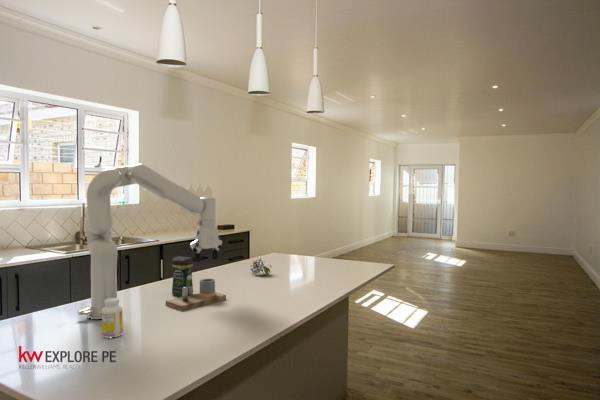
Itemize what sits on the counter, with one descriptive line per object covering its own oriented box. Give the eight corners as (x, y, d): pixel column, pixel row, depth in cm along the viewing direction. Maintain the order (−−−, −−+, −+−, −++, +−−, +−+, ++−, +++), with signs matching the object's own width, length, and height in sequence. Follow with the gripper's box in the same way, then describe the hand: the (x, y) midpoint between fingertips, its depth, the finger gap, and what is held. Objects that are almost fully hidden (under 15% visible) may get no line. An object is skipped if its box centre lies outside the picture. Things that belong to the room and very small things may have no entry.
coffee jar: (169, 295, 197) (168, 257, 197) (180, 291, 205) (180, 254, 204) (185, 297, 193) (184, 258, 193) (195, 293, 201) (195, 256, 200)
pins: (184, 301, 180) (184, 287, 180) (181, 300, 181) (181, 286, 181) (211, 295, 191) (211, 281, 190) (208, 294, 192) (208, 281, 192)
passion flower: (255, 284, 242) (243, 268, 243) (264, 277, 251) (253, 261, 252) (267, 276, 236) (255, 259, 237) (276, 269, 246) (265, 252, 247)
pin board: (180, 310, 173) (180, 306, 173) (165, 305, 181) (165, 300, 181) (226, 299, 191) (226, 294, 191) (210, 294, 199) (210, 290, 199)
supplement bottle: (117, 330, 149) (116, 295, 149) (126, 335, 145) (125, 299, 145) (98, 336, 144) (97, 299, 144) (107, 340, 140) (106, 303, 139)
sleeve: (205, 298, 186) (205, 282, 186) (197, 295, 190) (197, 280, 190) (217, 295, 191) (217, 280, 191) (209, 292, 195) (209, 278, 195)
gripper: (195, 225, 180) (195, 263, 181) (227, 223, 193) (226, 259, 194) (186, 223, 185) (185, 261, 186) (217, 222, 198) (216, 257, 199)
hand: (206, 260), depth 190 cm, fingers open, 9 cm apart
